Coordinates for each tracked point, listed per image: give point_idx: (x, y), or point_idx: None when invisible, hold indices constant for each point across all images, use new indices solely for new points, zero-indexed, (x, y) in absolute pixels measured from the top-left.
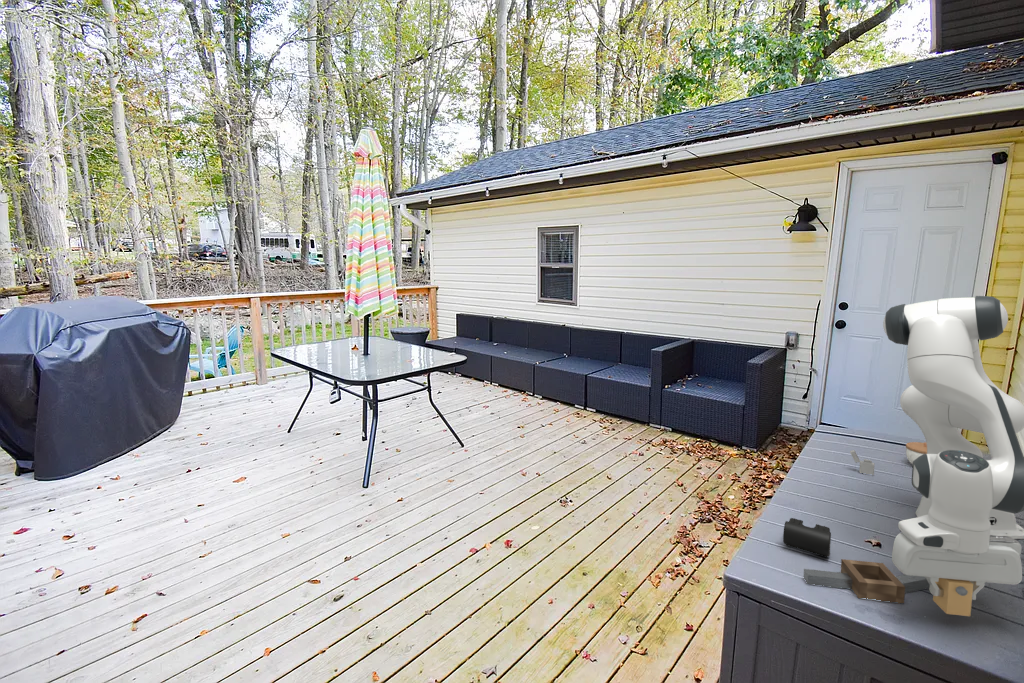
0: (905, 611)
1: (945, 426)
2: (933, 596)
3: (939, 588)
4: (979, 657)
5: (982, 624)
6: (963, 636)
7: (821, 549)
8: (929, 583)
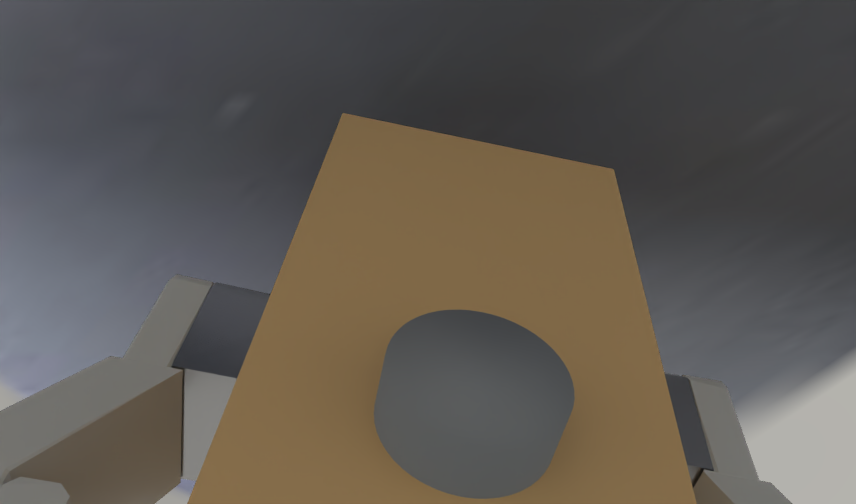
0: (69, 29)
1: None
2: (332, 143)
3: (200, 462)
4: None
5: (732, 231)
6: None
7: None
8: (109, 365)
